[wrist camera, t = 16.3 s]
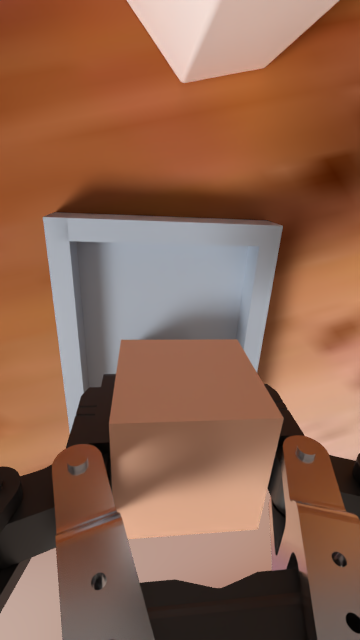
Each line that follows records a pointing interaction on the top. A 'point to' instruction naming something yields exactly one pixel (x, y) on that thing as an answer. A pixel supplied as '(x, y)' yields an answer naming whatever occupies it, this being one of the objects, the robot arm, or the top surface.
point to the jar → (225, 32)
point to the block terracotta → (190, 438)
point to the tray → (154, 286)
